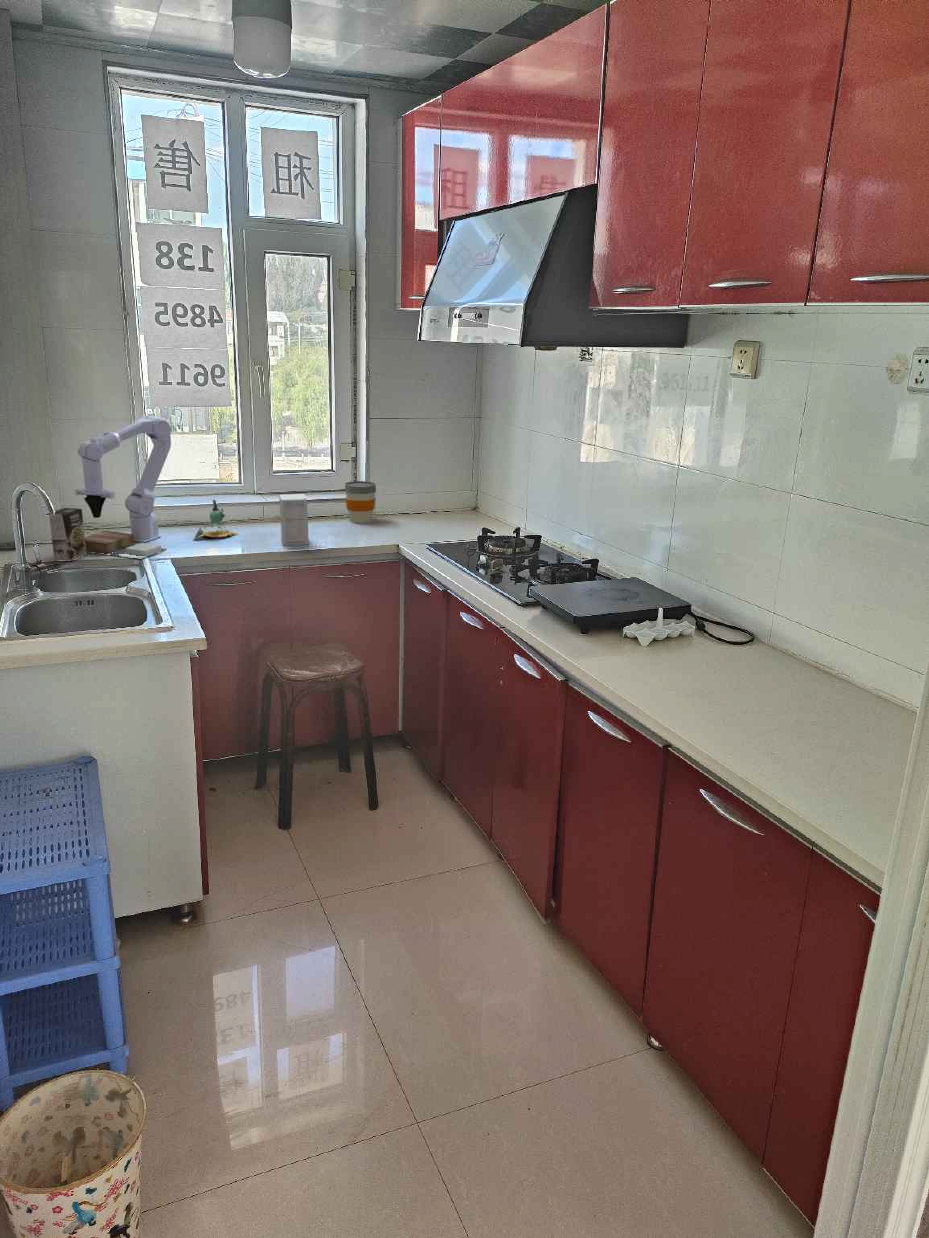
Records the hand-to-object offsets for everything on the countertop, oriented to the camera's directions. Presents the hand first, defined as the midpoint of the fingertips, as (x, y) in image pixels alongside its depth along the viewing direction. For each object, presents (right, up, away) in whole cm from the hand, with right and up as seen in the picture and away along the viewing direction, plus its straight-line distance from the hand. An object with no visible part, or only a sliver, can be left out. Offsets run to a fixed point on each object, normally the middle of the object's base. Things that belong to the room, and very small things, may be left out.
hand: (97, 517), depth 305 cm
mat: (+15, -12, -2) cm, 19 cm away
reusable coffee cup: (+84, +5, +53) cm, 100 cm away
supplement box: (+64, -7, +19) cm, 67 cm away
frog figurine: (+34, -5, +22) cm, 41 cm away
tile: (+17, -10, -4) cm, 20 cm away
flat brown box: (+3, -10, +2) cm, 11 cm away
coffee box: (-4, -15, -11) cm, 19 cm away
